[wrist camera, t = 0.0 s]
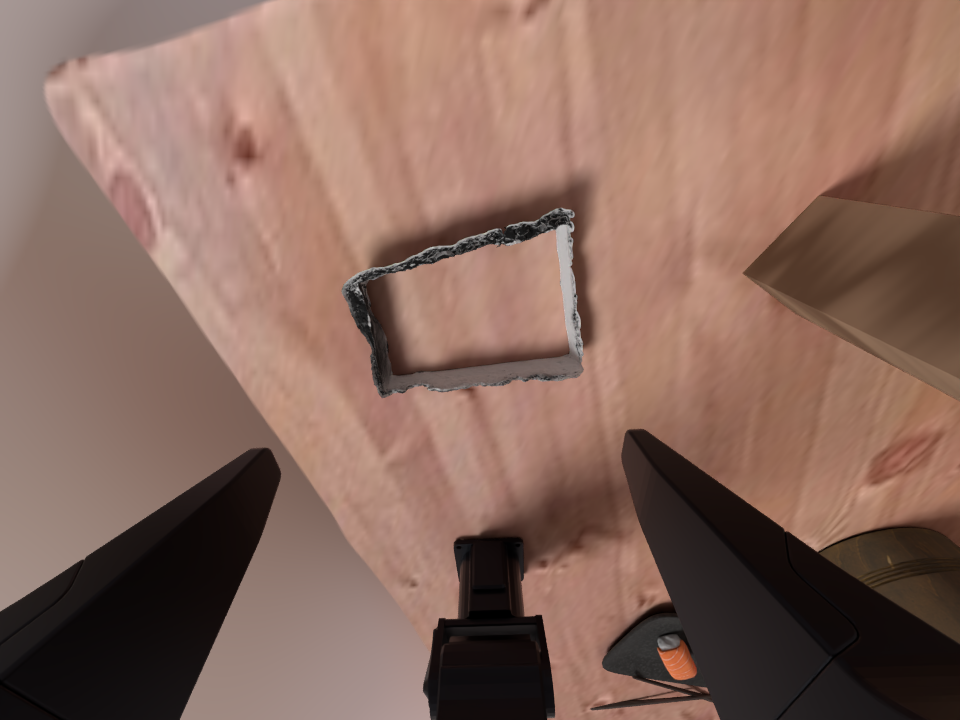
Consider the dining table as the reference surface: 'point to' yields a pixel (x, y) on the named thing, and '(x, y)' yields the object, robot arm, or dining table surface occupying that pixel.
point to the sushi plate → (656, 659)
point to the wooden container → (908, 572)
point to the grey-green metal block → (874, 282)
